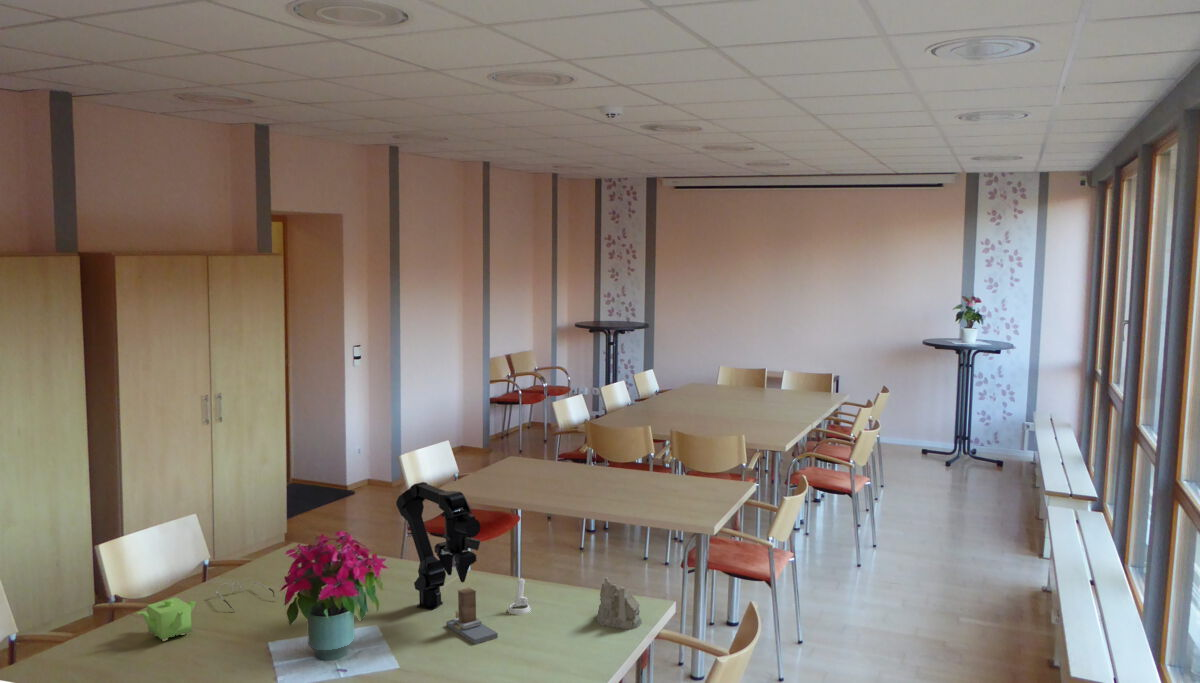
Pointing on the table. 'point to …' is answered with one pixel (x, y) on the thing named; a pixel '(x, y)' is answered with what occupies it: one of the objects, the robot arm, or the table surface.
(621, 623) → the ceramic cottage
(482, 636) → the tensioner track
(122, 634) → the table surface
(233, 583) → the eyeglasses
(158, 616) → the kettle
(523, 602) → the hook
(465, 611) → the brown wooden block
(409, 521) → the robot arm
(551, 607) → the table surface
